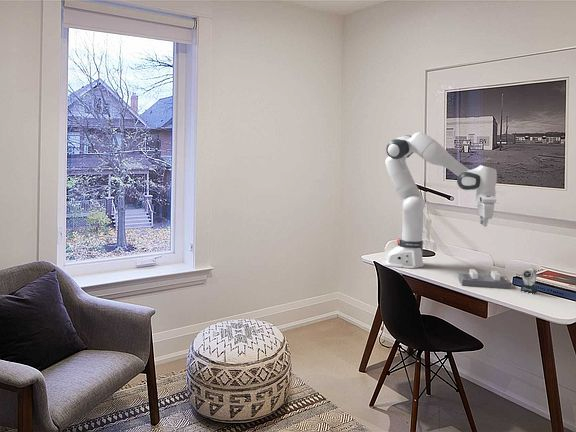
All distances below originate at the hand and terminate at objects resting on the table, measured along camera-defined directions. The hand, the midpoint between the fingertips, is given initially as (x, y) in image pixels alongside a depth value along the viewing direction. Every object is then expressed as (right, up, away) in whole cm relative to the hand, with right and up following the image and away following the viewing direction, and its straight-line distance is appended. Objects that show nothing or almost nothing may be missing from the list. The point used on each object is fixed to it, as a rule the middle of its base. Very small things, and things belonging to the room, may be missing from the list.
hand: (483, 225), depth 245 cm
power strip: (-3, -28, -7) cm, 29 cm away
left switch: (-7, -25, -7) cm, 27 cm away
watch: (+13, -31, -19) cm, 38 cm away
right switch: (+2, -25, -8) cm, 27 cm away
